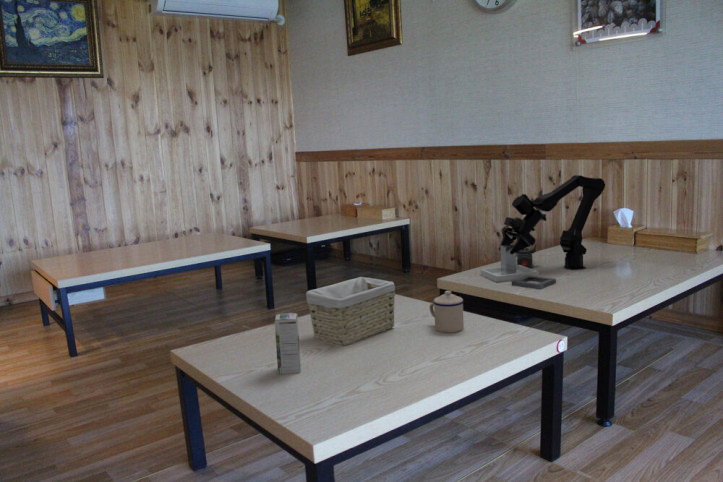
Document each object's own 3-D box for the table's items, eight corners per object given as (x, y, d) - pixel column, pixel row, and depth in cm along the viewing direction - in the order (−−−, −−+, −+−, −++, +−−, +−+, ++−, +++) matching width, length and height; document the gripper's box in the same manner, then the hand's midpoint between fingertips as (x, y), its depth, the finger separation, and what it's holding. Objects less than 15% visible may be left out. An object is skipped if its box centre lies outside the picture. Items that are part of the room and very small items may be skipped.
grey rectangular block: (511, 273, 248) (510, 244, 246) (516, 275, 244) (515, 246, 242) (501, 274, 247) (500, 245, 245) (506, 276, 243) (505, 247, 241)
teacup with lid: (470, 327, 183) (469, 290, 181) (451, 335, 177) (449, 296, 175) (440, 320, 192) (439, 284, 190) (421, 327, 186) (419, 290, 184)
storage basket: (342, 349, 171) (338, 298, 169) (306, 338, 183) (303, 290, 180) (399, 328, 187) (397, 281, 185) (363, 319, 199) (361, 275, 196)
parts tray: (519, 270, 255) (519, 264, 255) (538, 277, 241) (538, 271, 240) (480, 275, 251) (480, 269, 250) (497, 282, 236) (497, 276, 236)
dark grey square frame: (527, 279, 239) (527, 275, 239) (556, 282, 231) (556, 278, 231) (511, 285, 231) (511, 281, 231) (540, 289, 223) (540, 285, 222)
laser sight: (536, 260, 274) (536, 238, 273) (536, 271, 253) (536, 247, 251) (514, 260, 277) (514, 239, 275) (512, 271, 256) (512, 248, 254)
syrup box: (279, 367, 160) (274, 314, 157) (301, 365, 160) (297, 312, 158) (278, 375, 154) (273, 320, 152) (301, 373, 154) (296, 318, 152)
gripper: (505, 207, 251) (481, 236, 250) (528, 211, 233) (502, 242, 233) (522, 224, 254) (499, 253, 254) (546, 229, 237) (521, 260, 236)
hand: (505, 251), depth 244 cm, fingers open, 9 cm apart
